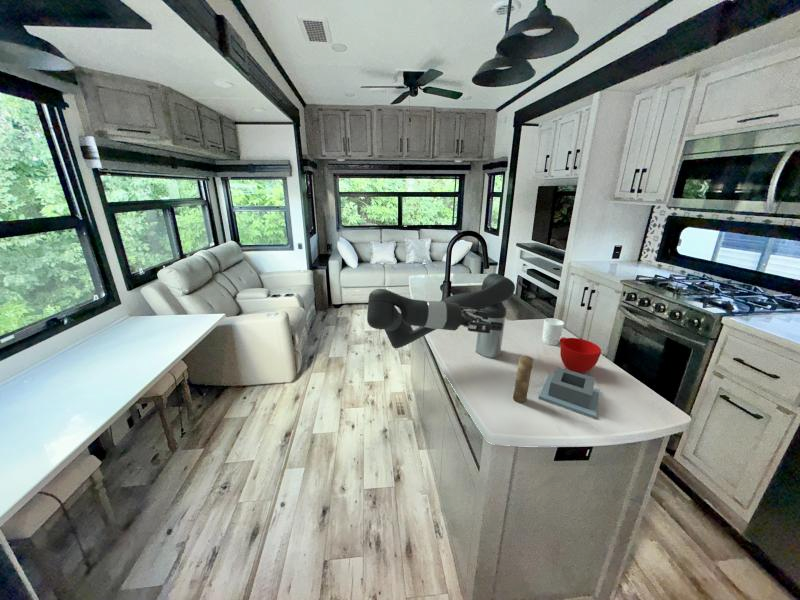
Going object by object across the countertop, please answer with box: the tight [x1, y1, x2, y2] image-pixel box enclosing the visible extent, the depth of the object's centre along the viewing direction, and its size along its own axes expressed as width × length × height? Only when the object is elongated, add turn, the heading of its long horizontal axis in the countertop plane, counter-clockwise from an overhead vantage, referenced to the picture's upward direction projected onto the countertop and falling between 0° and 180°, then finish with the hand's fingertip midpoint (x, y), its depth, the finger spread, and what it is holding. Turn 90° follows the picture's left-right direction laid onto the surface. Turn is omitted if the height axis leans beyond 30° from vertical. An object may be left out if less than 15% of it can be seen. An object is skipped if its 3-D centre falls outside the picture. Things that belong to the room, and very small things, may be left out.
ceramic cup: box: [559, 337, 602, 374], centre depth 118 cm, size 13×17×10 cm
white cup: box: [541, 317, 565, 346], centre depth 137 cm, size 8×8×10 cm
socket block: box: [538, 366, 601, 420], centre depth 101 cm, size 16×16×6 cm
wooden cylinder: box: [512, 354, 534, 404], centre depth 97 cm, size 4×4×15 cm
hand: (494, 321), depth 87 cm, fingers open, 8 cm apart
